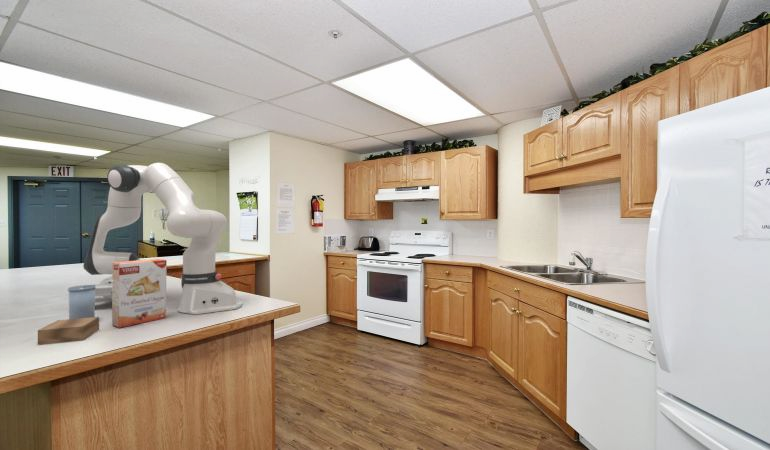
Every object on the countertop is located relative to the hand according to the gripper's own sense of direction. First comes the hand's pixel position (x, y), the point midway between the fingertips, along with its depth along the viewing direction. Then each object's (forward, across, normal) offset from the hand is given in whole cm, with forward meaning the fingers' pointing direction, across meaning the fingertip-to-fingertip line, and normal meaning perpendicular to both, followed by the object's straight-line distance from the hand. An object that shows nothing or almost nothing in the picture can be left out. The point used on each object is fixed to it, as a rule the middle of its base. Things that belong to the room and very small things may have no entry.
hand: (98, 294), depth 121 cm
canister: (+12, 0, +7) cm, 14 cm away
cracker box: (+18, +18, +7) cm, 26 cm away
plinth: (+28, +4, +7) cm, 29 cm away
